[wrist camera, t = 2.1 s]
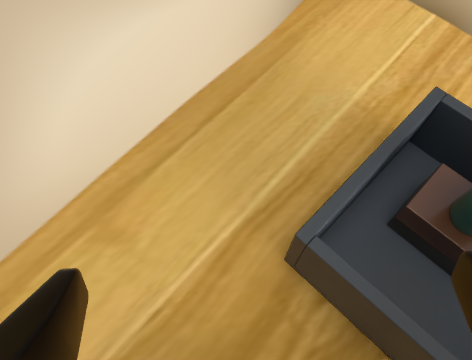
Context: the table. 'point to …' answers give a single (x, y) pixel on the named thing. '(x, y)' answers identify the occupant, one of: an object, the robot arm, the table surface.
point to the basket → (392, 240)
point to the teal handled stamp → (438, 218)
